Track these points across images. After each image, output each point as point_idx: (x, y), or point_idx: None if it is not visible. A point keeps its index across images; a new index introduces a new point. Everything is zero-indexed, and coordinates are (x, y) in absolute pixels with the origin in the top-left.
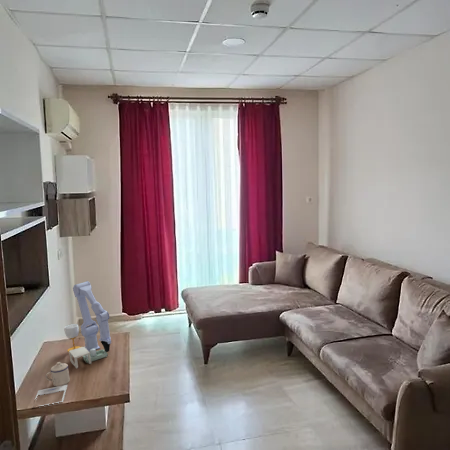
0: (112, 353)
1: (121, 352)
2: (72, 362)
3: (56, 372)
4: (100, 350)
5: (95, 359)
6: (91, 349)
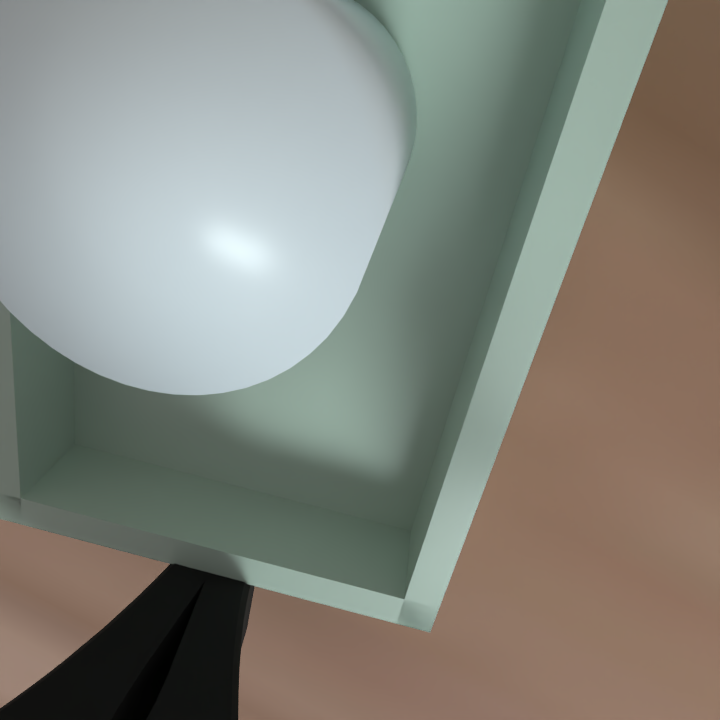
0: None
1: None
2: None
3: None
4: (427, 537)
5: None
6: (265, 132)
